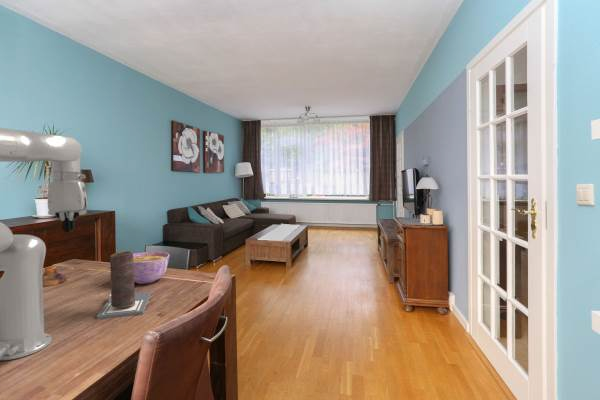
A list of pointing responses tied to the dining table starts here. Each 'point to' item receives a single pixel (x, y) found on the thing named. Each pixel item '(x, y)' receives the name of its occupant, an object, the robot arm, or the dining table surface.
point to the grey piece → (137, 309)
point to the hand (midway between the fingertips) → (68, 231)
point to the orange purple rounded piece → (52, 277)
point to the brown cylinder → (122, 279)
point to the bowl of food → (149, 266)
